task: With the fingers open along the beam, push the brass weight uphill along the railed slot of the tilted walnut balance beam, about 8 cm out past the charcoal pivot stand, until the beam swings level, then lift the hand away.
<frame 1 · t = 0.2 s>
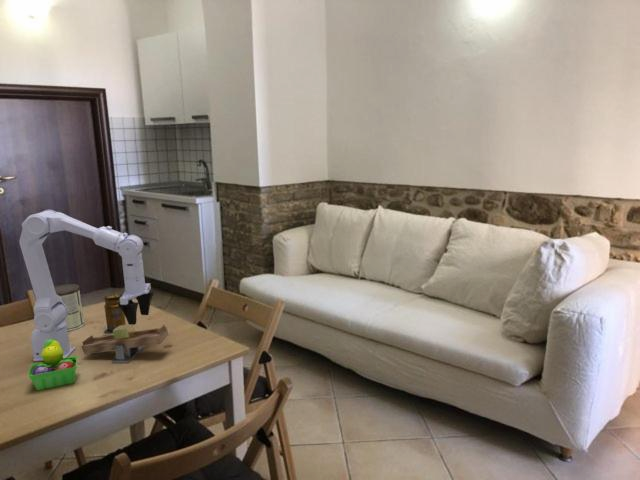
hand: (138, 319, 152), 10 cm above the table, tool pointing down, fingers open, 7 cm apart
fruit basket: (56, 382, 136), on the table
balance beam: (125, 339, 150), point 5 cm above the table, hinge at -8.5°, touching brass weight
condiment: (116, 330, 171), on the table
brass weight: (126, 339, 150), point 5 cm above the table, tilted 8°, touching balance beam
pivot stand: (128, 355, 151), on the table
coffee can: (68, 327, 176), on the table
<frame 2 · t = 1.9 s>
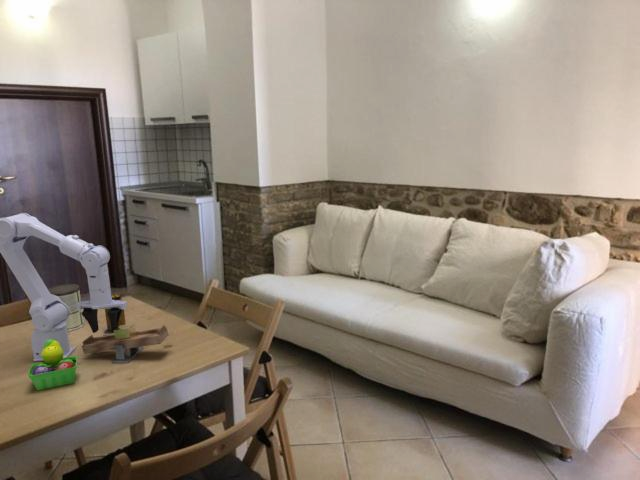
hand: (105, 331, 150), 8 cm above the table, tool pointing down
balance beam: (125, 339, 150), point 5 cm above the table, hinge at -8.1°
brass weight: (126, 339, 150), point 5 cm above the table, tilted 8°, touching gripper
everything else where it was.
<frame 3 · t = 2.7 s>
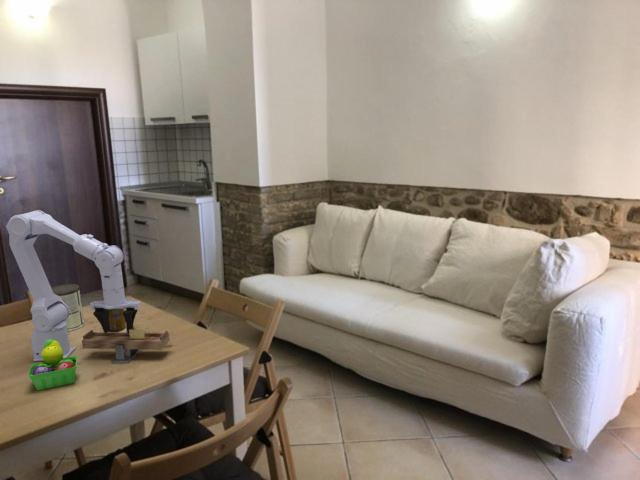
hand: (118, 331, 149), 8 cm above the table, tool pointing down, fingers open, 7 cm apart
balance beam: (126, 339, 150), point 5 cm above the table, hinge at 0.5°, touching brass weight
brass weight: (140, 339, 149), point 5 cm above the table, touching balance beam, gripper
everything else where it was.
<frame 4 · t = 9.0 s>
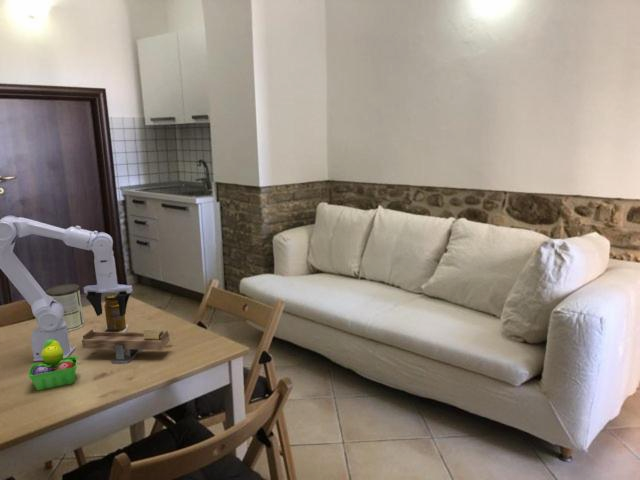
hand: (111, 314, 156), 10 cm above the table, tool pointing down, fingers open, 7 cm apart
brass weight: (154, 340, 149), point 5 cm above the table, touching balance beam
everything else where it was.
at the end: balance beam at +1° (first picture: -8°); brass weight touching balance beam; brass weight moved 8.8 cm from its start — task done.
